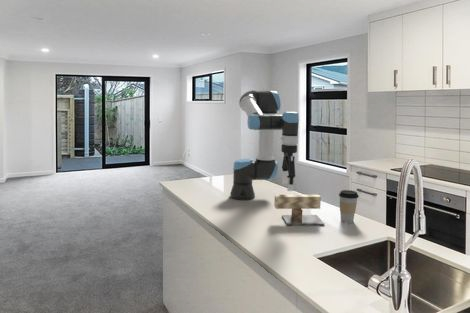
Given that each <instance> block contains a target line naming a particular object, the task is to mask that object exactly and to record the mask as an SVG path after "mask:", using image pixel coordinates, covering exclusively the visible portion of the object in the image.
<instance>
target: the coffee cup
mask: <svg viewBox="0 0 470 313" xmlns="http://www.w3.org/2000/svg"><path fill="white" fill-rule="evenodd" d="M338 196H339V211H340V213H339V214H340V221H341V222H342V223H345V224H352V223H354V218H355V213H356V209H357V204H358V199H359V196H360V195H359V194H358V192H357V191H356V190H349V189H343V190H340V192H339V193H338Z"/></svg>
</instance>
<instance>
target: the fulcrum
mask: <svg viewBox="0 0 470 313" xmlns="http://www.w3.org/2000/svg"><path fill="white" fill-rule="evenodd" d="M281 217H282V219H283V221H284V223H285V224H286V226H287V227H299V226H301V227H302V226H303V227H309V226H311V227H313V226H314V227H315V226H316V225H321V226H322V225H323V227H324V226H325V223H324V221H323V220H321V218H320V217H319V216H318V215H317V214H303V209H291V214H282V215H281ZM321 226H320V227H321ZM316 227H317V226H316Z"/></svg>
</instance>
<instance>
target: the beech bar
mask: <svg viewBox="0 0 470 313" xmlns="http://www.w3.org/2000/svg"><path fill="white" fill-rule="evenodd" d="M321 200H322V197H321V195H320V194H274V208H275V209H276V210H278V209H279V210H283V209H284V210H289V209H290V210H292V209H302V210H304V209H306V210H308V209H310V210H312V209H315V210H318V209H321V202H322V201H321Z"/></svg>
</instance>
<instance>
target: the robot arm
mask: <svg viewBox="0 0 470 313" xmlns="http://www.w3.org/2000/svg"><path fill="white" fill-rule="evenodd" d="M280 97H281V96H280V94H279V92H278V91H276V90H253V89H252V90H249V91H246V92H245V93H244V94H242V95H241V96H240V98H239V102H238V103H239V107H240V108H241V110H242V111H243V112H244V113H245V114H246V116H247V128H248V129H249V130H254V131H259V133H258V134H259V135H258V136H259V138H258V155H257V157H255V160H254V159H253V158H240V159H236V160H235V161H234V162H233V168H232V169H233V175H232V176H233V178H232V179H233V182H232V186H231V187H232V188H231V190H230V192H229V193H230V194H229V195H230V196H229V197H230V198H231V199H233V200H240V201H247V200H248V201H249V200H253V199H255V197H256V196H255V195H256V194H255V190H254V187H253V181H270V180H275V179H276V178H277V175H278V170H279V167H278V165H279V164H278V161H277V160H276V158H275V157H274V155H273V154H274V135H275V134H274V131H282V132H281V135H282V136H281V137H280V140H281V153H283V158H282V159H283V160H282V166H281V169H282V176H281V177H282V180H281V184H282V185H287V191H288V192H294V185H295V183H294V181H295V177H296V167H295V158H296V157H295V155H294V154H296V153H297V152H298V145H297V144H298V141H299V121H300V117H299V116H300V115H299V113H298V112H297V111H284V112H283V113H282V114H278V112H279V111H280V110H281V98H280Z"/></svg>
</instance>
